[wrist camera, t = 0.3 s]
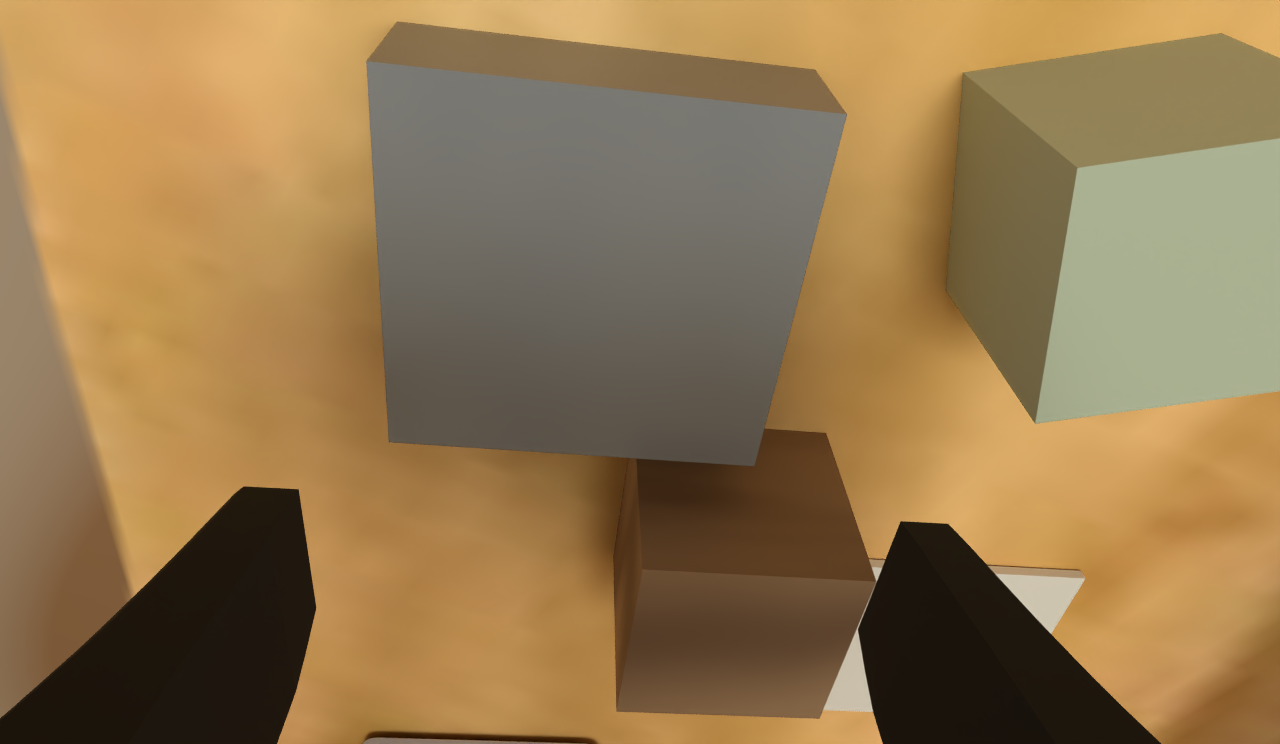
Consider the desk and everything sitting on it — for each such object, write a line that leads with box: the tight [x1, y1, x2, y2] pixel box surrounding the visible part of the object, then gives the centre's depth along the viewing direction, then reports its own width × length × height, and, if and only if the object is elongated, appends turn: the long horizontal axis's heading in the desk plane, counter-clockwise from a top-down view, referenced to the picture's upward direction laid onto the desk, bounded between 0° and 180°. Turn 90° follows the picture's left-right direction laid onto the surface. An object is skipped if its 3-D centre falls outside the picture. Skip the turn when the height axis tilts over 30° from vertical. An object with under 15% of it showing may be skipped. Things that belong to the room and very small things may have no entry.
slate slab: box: [366, 22, 847, 466], centre depth 18 cm, size 8×8×3 cm
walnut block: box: [613, 429, 876, 719], centre depth 21 cm, size 5×5×5 cm
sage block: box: [946, 33, 1280, 424], centre depth 16 cm, size 5×5×5 cm
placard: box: [823, 559, 1085, 712], centre depth 27 cm, size 7×7×1 cm
